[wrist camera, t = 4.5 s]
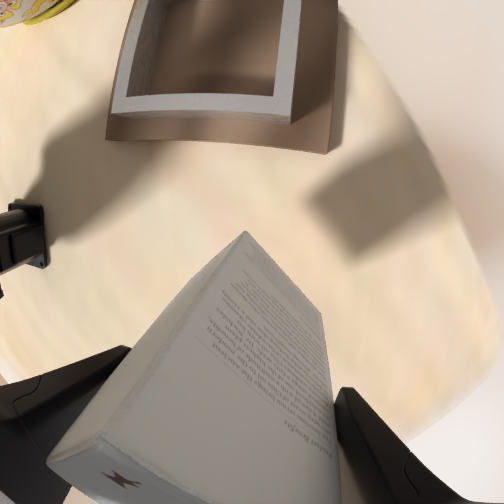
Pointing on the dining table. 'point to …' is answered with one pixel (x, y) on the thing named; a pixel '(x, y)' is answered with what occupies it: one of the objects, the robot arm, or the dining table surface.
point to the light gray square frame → (199, 104)
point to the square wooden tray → (239, 72)
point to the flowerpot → (29, 11)
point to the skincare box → (215, 399)
